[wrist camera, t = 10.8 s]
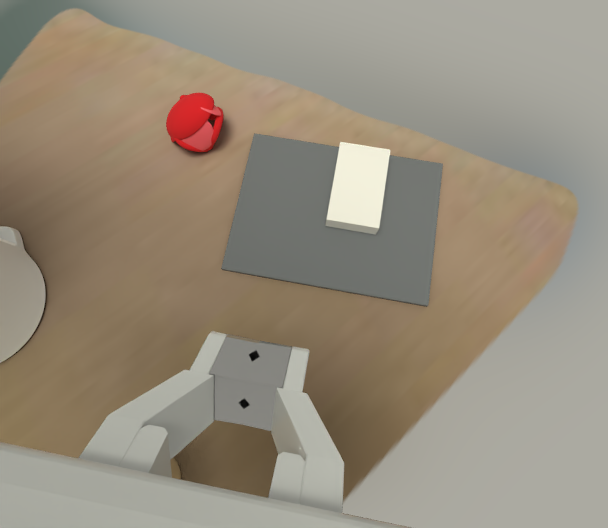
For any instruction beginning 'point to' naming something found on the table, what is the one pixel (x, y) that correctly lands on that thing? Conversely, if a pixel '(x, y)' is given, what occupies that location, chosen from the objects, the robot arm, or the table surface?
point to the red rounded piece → (195, 122)
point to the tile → (358, 188)
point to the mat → (328, 240)
